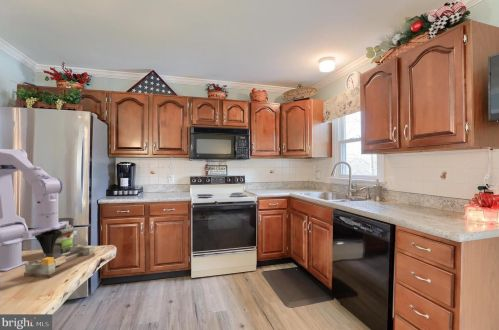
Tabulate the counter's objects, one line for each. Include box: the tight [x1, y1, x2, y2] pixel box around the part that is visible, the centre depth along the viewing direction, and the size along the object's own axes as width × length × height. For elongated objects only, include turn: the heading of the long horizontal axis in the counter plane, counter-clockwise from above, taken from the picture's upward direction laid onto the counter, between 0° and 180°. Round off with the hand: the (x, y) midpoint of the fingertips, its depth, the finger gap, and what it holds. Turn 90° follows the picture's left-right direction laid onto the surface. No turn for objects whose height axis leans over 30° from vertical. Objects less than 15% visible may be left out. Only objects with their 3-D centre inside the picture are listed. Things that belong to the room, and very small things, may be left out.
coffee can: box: [43, 217, 74, 258], centre depth 105 cm, size 10×10×14 cm
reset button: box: [41, 257, 54, 265], centre depth 83 cm, size 2×2×2 cm
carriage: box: [40, 245, 66, 266], centre depth 88 cm, size 6×4×6 cm, turn 83°
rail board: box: [23, 243, 96, 279], centre depth 92 cm, size 10×20×5 cm, turn 172°
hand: (47, 252), depth 83 cm, fingers closed
